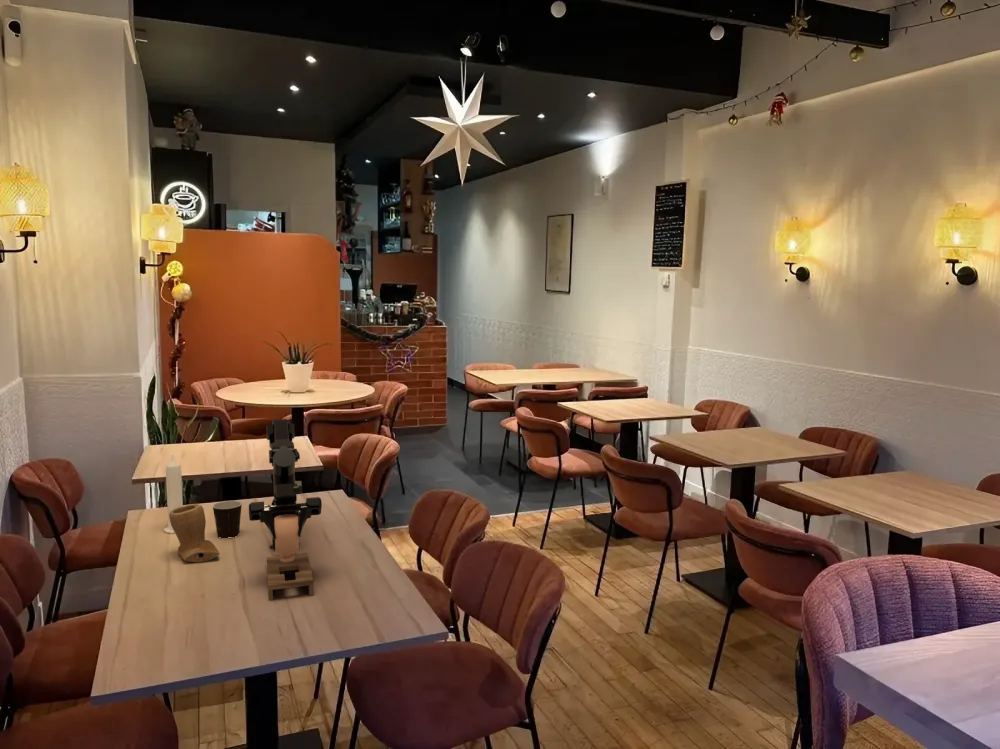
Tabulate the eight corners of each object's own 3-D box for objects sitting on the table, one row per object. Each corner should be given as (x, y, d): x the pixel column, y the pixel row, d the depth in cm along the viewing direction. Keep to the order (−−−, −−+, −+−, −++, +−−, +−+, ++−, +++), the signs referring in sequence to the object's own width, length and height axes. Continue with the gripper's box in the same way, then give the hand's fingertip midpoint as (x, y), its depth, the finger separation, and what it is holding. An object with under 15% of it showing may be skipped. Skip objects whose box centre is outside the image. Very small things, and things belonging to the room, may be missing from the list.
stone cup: (168, 551, 213) (166, 502, 211) (211, 544, 219) (209, 497, 217) (175, 568, 200) (173, 517, 198) (220, 560, 206) (218, 510, 204)
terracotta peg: (281, 554, 193) (280, 513, 191) (302, 556, 192) (301, 514, 191) (271, 563, 187) (270, 520, 186) (293, 564, 186) (292, 522, 185)
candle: (180, 525, 236) (177, 451, 233) (192, 529, 232) (189, 454, 229) (159, 530, 230) (156, 455, 227) (171, 535, 226) (168, 458, 223)
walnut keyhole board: (266, 570, 199) (266, 557, 199) (307, 566, 203) (307, 552, 202) (268, 600, 180) (268, 585, 180) (313, 595, 184) (313, 580, 184)
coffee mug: (220, 530, 231) (219, 500, 230) (247, 530, 231) (246, 500, 230) (205, 543, 220) (203, 511, 219) (232, 543, 220) (231, 512, 218)
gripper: (247, 473, 187) (248, 527, 178) (320, 468, 193) (324, 520, 184) (249, 493, 196) (249, 546, 187) (318, 488, 202) (322, 539, 193)
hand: (286, 537), depth 188 cm, fingers closed on terracotta peg, 6 cm apart
